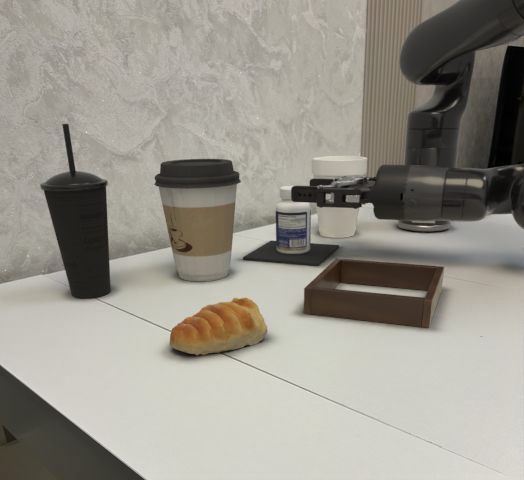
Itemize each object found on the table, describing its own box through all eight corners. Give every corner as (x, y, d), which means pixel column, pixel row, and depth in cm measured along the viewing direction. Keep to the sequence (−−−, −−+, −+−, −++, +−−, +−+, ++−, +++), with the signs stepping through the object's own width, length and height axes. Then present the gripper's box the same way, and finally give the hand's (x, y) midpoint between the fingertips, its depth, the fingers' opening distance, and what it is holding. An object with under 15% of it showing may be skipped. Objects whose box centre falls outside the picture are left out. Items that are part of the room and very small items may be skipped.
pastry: (193, 366, 49) (189, 327, 48) (156, 345, 54) (152, 308, 53) (273, 340, 55) (272, 303, 53) (233, 322, 59) (232, 288, 58)
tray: (335, 280, 73) (336, 258, 72) (441, 289, 68) (444, 266, 67) (303, 313, 61) (304, 288, 60) (429, 328, 57) (432, 300, 55)
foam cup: (316, 227, 104) (318, 155, 99) (365, 229, 102) (369, 155, 97) (306, 238, 96) (307, 160, 91) (359, 240, 94) (363, 160, 89)
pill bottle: (286, 245, 90) (285, 184, 86) (315, 249, 87) (317, 185, 83) (269, 253, 86) (268, 188, 82) (300, 256, 83) (301, 190, 79)
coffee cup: (146, 275, 77) (134, 163, 71) (207, 259, 84) (200, 156, 78) (200, 291, 69) (191, 167, 63) (261, 272, 77) (258, 160, 71)
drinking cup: (102, 280, 75) (80, 122, 67) (133, 291, 70) (112, 122, 62) (49, 293, 70) (18, 125, 62) (77, 306, 65) (47, 125, 57)
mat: (271, 242, 94) (270, 240, 94) (339, 247, 90) (339, 245, 90) (242, 259, 84) (242, 257, 84) (318, 266, 80) (318, 263, 79)
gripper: (420, 160, 81) (315, 158, 87) (405, 170, 69) (285, 168, 75) (415, 211, 84) (314, 207, 90) (400, 230, 72) (285, 223, 78)
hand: (301, 189), depth 82 cm, fingers open, 8 cm apart
